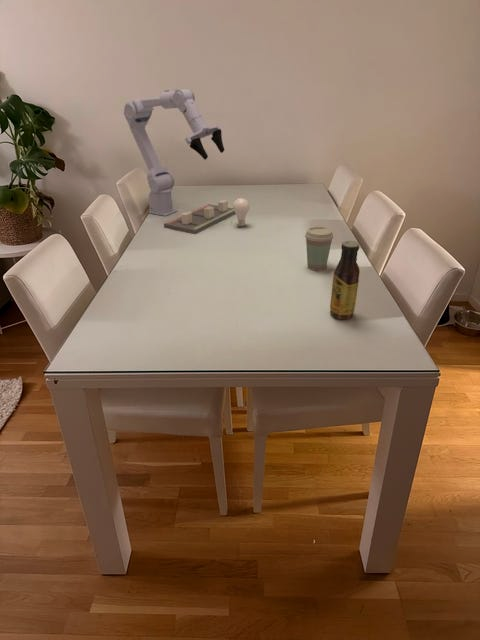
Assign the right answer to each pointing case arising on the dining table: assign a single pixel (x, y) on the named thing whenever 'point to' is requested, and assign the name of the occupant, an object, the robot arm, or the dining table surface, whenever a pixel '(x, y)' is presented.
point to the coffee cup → (318, 247)
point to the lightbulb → (241, 210)
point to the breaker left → (223, 206)
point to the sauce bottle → (345, 282)
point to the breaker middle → (209, 212)
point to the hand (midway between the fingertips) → (214, 154)
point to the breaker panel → (199, 220)
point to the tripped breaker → (186, 217)
